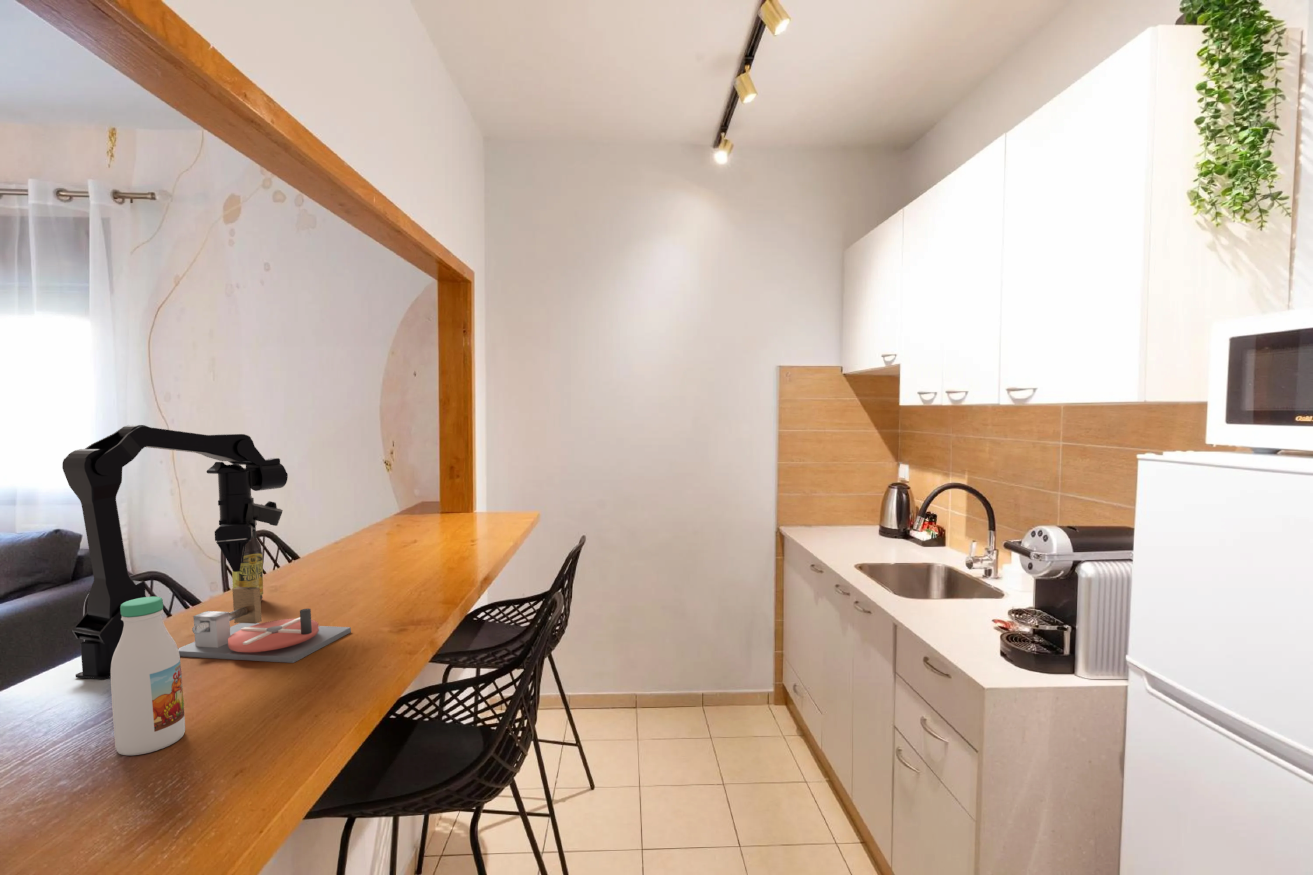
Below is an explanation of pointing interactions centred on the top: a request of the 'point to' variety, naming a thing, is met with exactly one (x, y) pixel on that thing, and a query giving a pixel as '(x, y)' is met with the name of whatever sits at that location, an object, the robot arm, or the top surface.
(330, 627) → the mounting plate
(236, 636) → the handwheel
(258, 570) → the sauce bottle
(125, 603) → the milk bottle
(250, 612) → the locking pin
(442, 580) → the top surface
